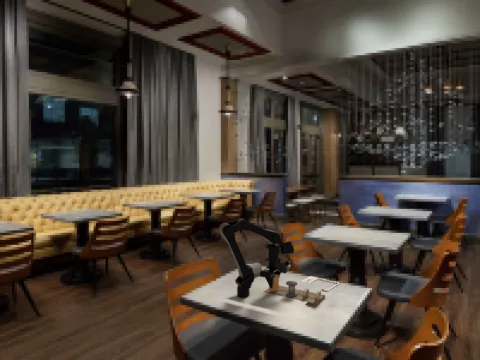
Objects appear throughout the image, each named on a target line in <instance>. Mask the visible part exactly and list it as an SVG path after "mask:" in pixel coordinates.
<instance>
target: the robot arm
mask: <svg viewBox="0 0 480 360" xmlns="http://www.w3.org/2000/svg"><path fill="white" fill-rule="evenodd" d="M242 229H246V230H248V231H249V232H251V233H255V234H256V235H259V236H261V237H262V238H264V239H265V240H266V241H268V242H270V243H268V242H266V243H265V244H264V245H263V248H265V249H266V250H267V257H266V258H265V259H266V261H267V266H266V268H264V269H262V271H261V272H260V275H259V277H261V278H264V279H265V280H266V283H267V284H268V287H269V286H270V288H273V279H274V277H275V275H274V274H277V275H279V278H280V277H281V274H288V273H289V271H290V269H291V268H292V265H291V261H290V260H287V261H282V258H281V257H280V255H281V256H287V255H293V254H294V253H295V248H294V244H293V242H292V241H291V240H287V241H283V240H282V238H281V235H280V233H278V232H276V231H274V230H271V229H267V228H262V227H260V226H258V225H256V224H254V223H251V222H249V221H247V220H246V219H244V218H238V219H236V220H232V221H228V222H223V223H221V224H220V225H219V227H218V232H219V233H220V235H221V236H222V238H223V239H224V240H225V241H226V243H227V245H228V248H229V249H230V252H231V255H232V256H233V259H234V261H235V263H236V265H237V273H238V275H237V277H236V279H234V282H235V284H236V285H237V286H236V292H237V293H236V296H237V298H240V299H245V298H248V297H250V293H251V292H250V291H251V290H250V289H251V288H252V286H253V283H254V281H255V277H256V276H255V277H254V275H255V274H254V273H253V270H252V268H251V267H250V266H249V265H250V264H247V263H246V261H245V258H244V257H243V254H242V252H241V250H240V247H239V245H238V243H237V240H236V233H237V232H238V231H240V230H242Z"/></svg>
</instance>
